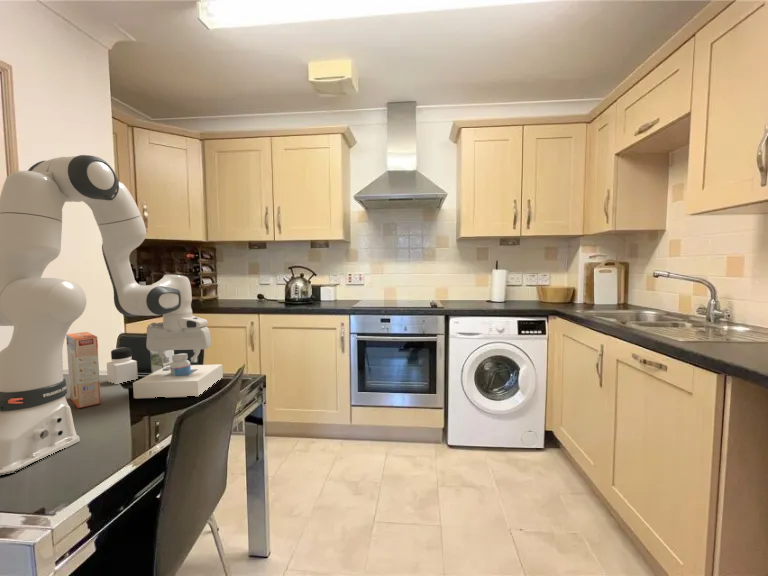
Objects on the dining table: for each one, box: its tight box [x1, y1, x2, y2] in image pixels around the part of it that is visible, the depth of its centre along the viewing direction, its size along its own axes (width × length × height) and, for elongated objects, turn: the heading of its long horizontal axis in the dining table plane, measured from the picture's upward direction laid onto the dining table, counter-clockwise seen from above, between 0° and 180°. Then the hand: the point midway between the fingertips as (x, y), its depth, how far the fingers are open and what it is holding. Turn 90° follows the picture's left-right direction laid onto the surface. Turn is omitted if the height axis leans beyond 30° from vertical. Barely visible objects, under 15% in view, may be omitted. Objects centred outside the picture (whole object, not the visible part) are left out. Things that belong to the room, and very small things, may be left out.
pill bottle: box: [170, 352, 191, 376], centre depth 129 cm, size 6×6×11 cm
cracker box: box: [65, 331, 101, 409], centre depth 117 cm, size 14×6×21 cm, turn 47°
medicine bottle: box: [106, 347, 139, 385], centre depth 138 cm, size 7×7×12 cm
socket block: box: [132, 363, 224, 399], centre depth 129 cm, size 20×20×6 cm
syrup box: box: [149, 350, 175, 374], centre depth 141 cm, size 6×6×14 cm
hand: (179, 362), depth 128 cm, fingers open, 8 cm apart
